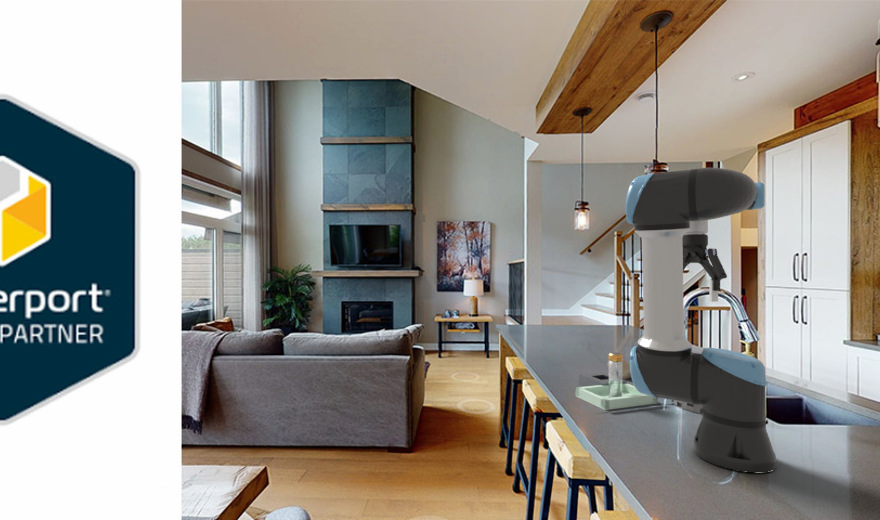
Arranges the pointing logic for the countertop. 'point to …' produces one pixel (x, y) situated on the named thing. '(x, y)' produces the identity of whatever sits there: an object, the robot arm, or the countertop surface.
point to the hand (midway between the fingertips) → (694, 299)
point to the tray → (601, 393)
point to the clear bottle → (615, 375)
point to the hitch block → (595, 379)
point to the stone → (625, 369)
